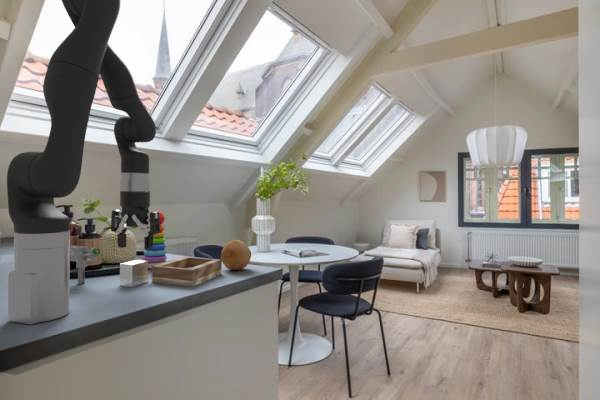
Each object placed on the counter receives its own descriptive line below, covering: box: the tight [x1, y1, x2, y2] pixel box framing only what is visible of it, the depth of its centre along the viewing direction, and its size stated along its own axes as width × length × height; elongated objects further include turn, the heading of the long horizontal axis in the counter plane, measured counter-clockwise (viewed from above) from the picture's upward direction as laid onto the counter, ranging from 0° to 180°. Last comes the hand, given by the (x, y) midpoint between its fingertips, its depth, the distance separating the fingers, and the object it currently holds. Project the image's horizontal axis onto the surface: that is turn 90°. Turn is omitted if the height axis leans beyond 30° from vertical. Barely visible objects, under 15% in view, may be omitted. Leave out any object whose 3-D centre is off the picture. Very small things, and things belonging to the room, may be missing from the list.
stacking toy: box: [141, 210, 168, 270], centre depth 121 cm, size 8×8×19 cm
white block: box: [119, 259, 149, 288], centre depth 100 cm, size 6×4×6 cm, turn 164°
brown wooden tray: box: [151, 256, 223, 287], centre depth 107 cm, size 16×13×4 cm
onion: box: [220, 239, 252, 271], centre depth 120 cm, size 10×10×10 cm
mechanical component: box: [70, 245, 101, 285], centre depth 98 cm, size 3×10×10 cm, turn 79°
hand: (135, 248), depth 100 cm, fingers open, 8 cm apart
